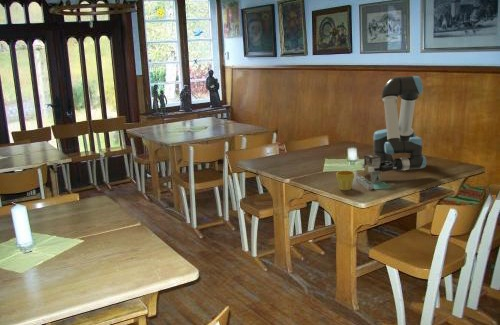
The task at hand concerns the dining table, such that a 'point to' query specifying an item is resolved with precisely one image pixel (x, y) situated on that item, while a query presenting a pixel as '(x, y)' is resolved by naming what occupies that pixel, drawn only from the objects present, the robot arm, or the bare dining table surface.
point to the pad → (381, 186)
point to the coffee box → (371, 161)
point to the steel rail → (365, 183)
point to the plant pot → (345, 179)
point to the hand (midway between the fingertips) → (365, 167)
